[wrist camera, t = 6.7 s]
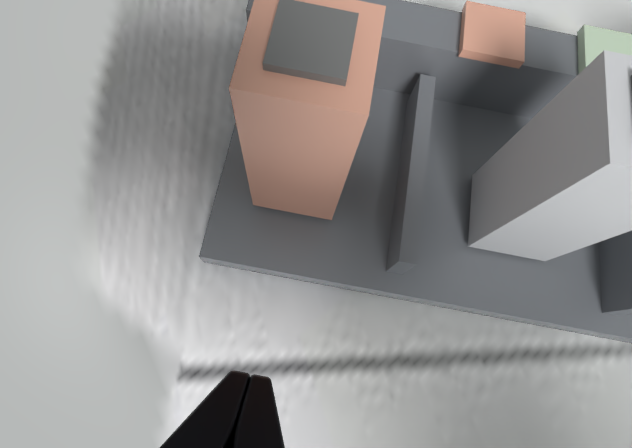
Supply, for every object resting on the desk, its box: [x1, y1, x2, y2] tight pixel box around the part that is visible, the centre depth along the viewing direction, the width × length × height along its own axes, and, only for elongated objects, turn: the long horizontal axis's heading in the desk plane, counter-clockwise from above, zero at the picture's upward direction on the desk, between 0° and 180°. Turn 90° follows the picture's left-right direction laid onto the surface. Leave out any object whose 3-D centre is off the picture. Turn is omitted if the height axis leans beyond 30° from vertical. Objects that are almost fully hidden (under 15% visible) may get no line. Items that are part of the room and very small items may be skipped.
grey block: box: [468, 50, 632, 261], centre depth 17 cm, size 4×4×10 cm
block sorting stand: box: [199, 0, 632, 343], centre depth 21 cm, size 14×30×6 cm, turn 80°
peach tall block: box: [229, 0, 386, 220], centre depth 17 cm, size 4×4×10 cm
